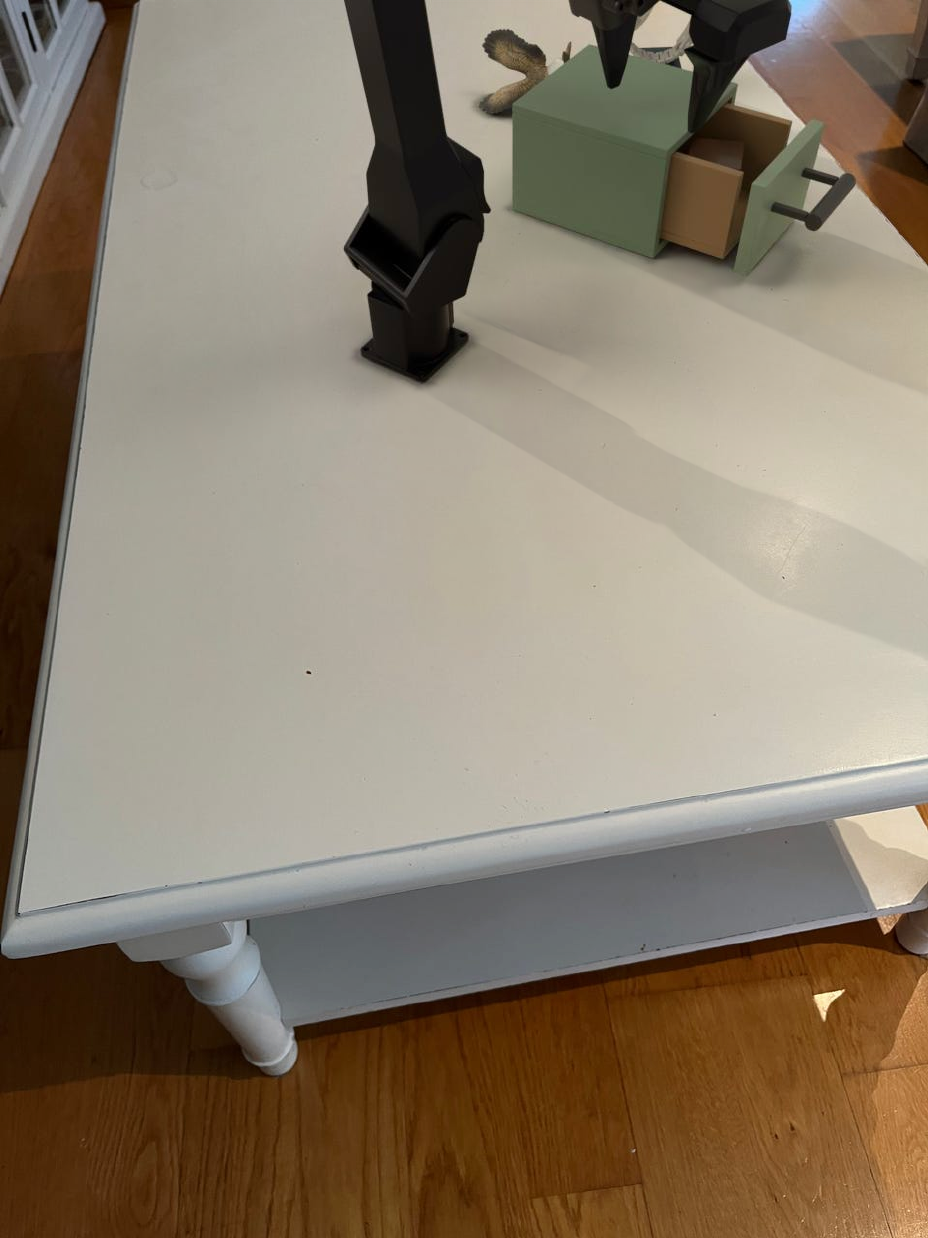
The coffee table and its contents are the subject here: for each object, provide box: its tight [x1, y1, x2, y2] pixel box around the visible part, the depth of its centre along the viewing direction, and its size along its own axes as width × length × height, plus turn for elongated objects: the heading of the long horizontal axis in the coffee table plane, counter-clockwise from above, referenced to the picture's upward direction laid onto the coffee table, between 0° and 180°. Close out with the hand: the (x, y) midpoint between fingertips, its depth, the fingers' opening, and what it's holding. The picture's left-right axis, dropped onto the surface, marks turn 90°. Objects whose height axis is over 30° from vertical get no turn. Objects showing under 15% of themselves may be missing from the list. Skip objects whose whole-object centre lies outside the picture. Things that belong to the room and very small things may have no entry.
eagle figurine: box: [478, 28, 572, 114], centre depth 98 cm, size 8×7×9 cm
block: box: [688, 137, 745, 171], centre depth 83 cm, size 4×4×4 cm
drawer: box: [660, 103, 857, 277], centre depth 81 cm, size 18×11×8 cm, turn 55°
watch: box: [629, 5, 693, 69], centre depth 96 cm, size 6×8×11 cm
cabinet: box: [511, 43, 739, 259], centre depth 85 cm, size 15×13×10 cm
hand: (652, 108), depth 76 cm, fingers open, 9 cm apart
